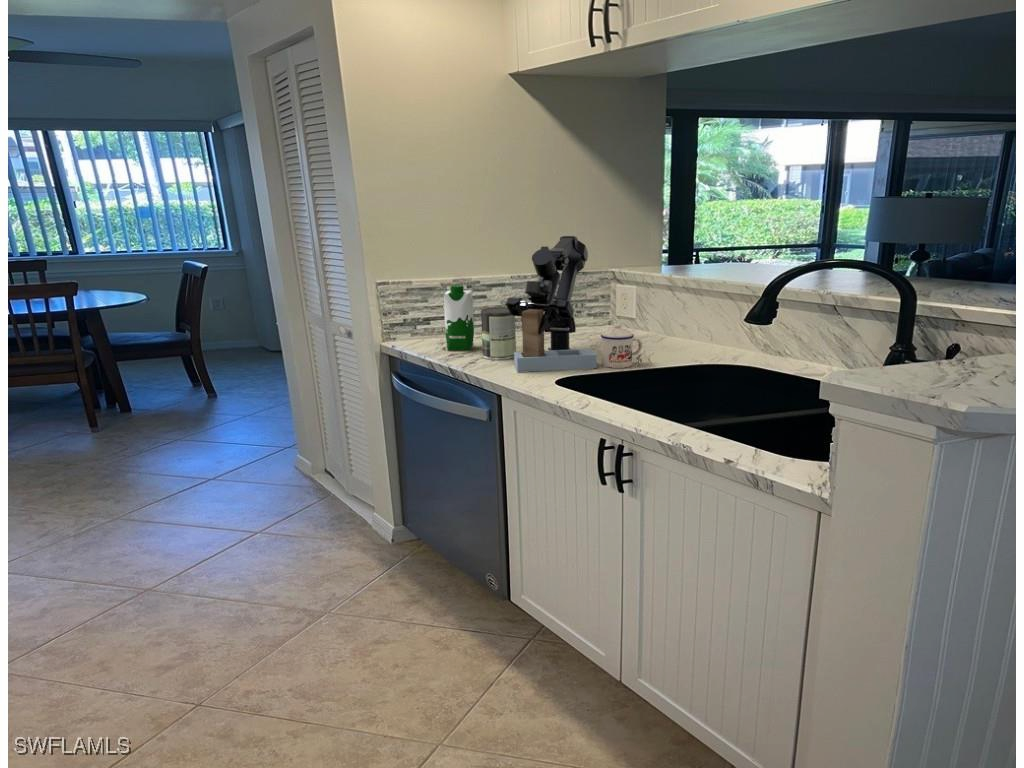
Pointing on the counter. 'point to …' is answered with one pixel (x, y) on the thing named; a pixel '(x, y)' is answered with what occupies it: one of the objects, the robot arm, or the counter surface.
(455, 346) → the milk carton
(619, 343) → the teacup with lid
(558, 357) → the blue peg holder
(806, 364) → the counter surface
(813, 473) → the counter surface
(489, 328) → the coffee can
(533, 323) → the peg
